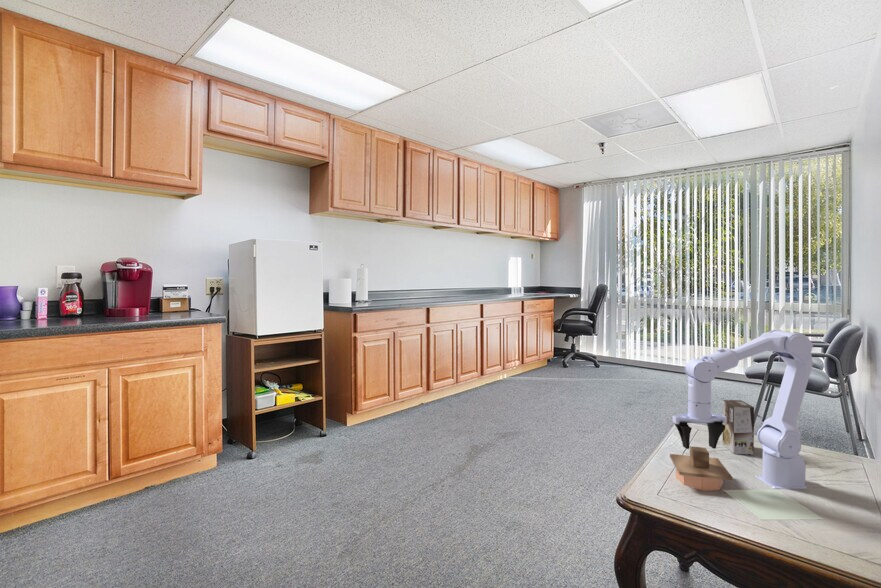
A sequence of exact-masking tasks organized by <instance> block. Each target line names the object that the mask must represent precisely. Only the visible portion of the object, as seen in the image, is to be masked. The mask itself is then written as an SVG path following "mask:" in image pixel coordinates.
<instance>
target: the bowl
mask: <svg viewBox="0 0 881 588" xmlns="http://www.w3.org/2000/svg"><path fill="white" fill-rule="evenodd" d="M675 478H676V480H678V481H679V482H680V483H681V484H682V485H684V486H686V487H690V488H691V489H692V488H693V489H697V490H700V491H719V490H721V489H722V487H723V485H724V479H715V478H706V477H696V476H687V475H679V473H678V471H677V469H676V468H675Z"/></svg>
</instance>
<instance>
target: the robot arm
mask: <svg viewBox="0 0 881 588" xmlns="http://www.w3.org/2000/svg"><path fill="white" fill-rule="evenodd" d="M813 347H814V343H813V342H812V341H811V340H810V339H809V338H808V337H807V335H805V334H804V333H801V332H799V333H798V332H791V331H785V330H781V329H772V330H771V329H770V331H768V332H763V333H761V335H759V336H758V337H756V338H754V339H751V340H749V341H747V342H746V343H743V344H741V345H739V346H737V347H734V348H733V349H729V348H728V347H725V348H723V347H719V348H717V349H716V351H715V352H712V353H710V354H707V355H706V354H704V355H702V356H700V359H699V358H692V359H690V360H688V362H687V363H686V364H685V367H683V370H684V373H685V375H686V376H687V380H688V381H687V386H688V387H687V389H688V390H687V408H688V409H687V413H683V414H676V415H672V423H674V426H675V427H676V430H678V433H679V436H680V440H681V443H682V447H683V448H684V449H686V450H690V437H691V432H692V429H693V428H692V427H691V426H689V424H706V427H707V431H708V446H709V447H711V448H712V449H714V450H715V449H717V445H718V443H719V440H720V437H721V435H723V431H724V430H725V425H723V423H724V424H725V423H727V417H726V416H724V415H723V414H714V413H713V414H712V381H713V380H715V378H716V376H717V375H718V374H722V373H724V372H726V371H729V370H731V369H733V368H736V367H738V365H739V362H740V361H741V360H745V359H747V358H750V357H753V356H756V355H759V354H761V353H764V352H767V351H769V352H773V353H775V354H776V355H778V356H779V357H780V358H781V359H782V361H783V362H784V363H785V365H786V367H785V370H784V374H783V376H782V381H781V384H780V386H779V391H778V394H777V398H776V401H775V405H774V408H773V412H772V414H771V415H772V416H770V417H767V418H766V419H764V421H763V424H762V426H761V427H760V428H759V429H758V431H757V433H756V438H757V441H758V442H759V443H760V444H761V448H762V470H761V471H762V472H761V473H762V474H761V475H758V474H757V475H754V477H755V478H757V479H758V480H760V481H761V482H763V483H765V484H766V485H768V486H769V487H770V488H772V489H773V490H781V489H782V490H784V489H785V490H786V489H787V490H788V489H789V490H791V489H794V490H795V489H798V490H799V489H803V490H804V489H805V490H807V489H808V487H807V486H806V471H807V470H806V468H807V467H806V463H805V459H804V457H802V456H801V455H800V453H801V449H802V443H801V437H802V432H801V431H800V429H799V427H798V425H797V420H798V417H799V413H800V410H801V406H802V404H803V399H804V396H805V393H806V390H807V386H808V382H809V380H810V377H811V376H810V375H811V372H812V369H813V364H814V363H813V362H814V361H813V356H812V351H813Z"/></svg>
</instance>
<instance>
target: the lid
mask: <svg viewBox="0 0 881 588" xmlns="http://www.w3.org/2000/svg"><path fill="white" fill-rule="evenodd" d="M669 458H670V460H671V461H672V463H673V465H674V467H675V470H676V469H677V471H678V473H679V475H687V476H696V477H706V478H715V479H723V480H724V481H725V480H727V481H734V480H733V479H734V477H733V476H732V475H731V473H730V472H729V471H728V469H727V467H725V466H724V464H723V463H722V462H721V460H720V459H719V458H716V457H710V452H709V451H708V450H707V447H701V446H700V447H699V446H689V455H687V454H675V453H669Z"/></svg>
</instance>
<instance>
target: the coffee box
mask: <svg viewBox="0 0 881 588" xmlns="http://www.w3.org/2000/svg"><path fill="white" fill-rule="evenodd" d="M722 415H724V416H726V417H727V423H725V424H724V423H723V425H725V430H724V431H723V432H722V445H723V446H724V447H725V448H726V449H727V450H729V451H730V452H731V453H732V454H735V455H736V454H737V455H748V454H751V455H750V456H753V455H755V454H754V453H755V452H754V446H755V445H754V444H755V441H754V440H755V437H754V436H755V435H754V433H755V407H754V406H752V405H751V404H749V403H747V402H746V401H744V400H739V399H729V400H728V399H722Z"/></svg>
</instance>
